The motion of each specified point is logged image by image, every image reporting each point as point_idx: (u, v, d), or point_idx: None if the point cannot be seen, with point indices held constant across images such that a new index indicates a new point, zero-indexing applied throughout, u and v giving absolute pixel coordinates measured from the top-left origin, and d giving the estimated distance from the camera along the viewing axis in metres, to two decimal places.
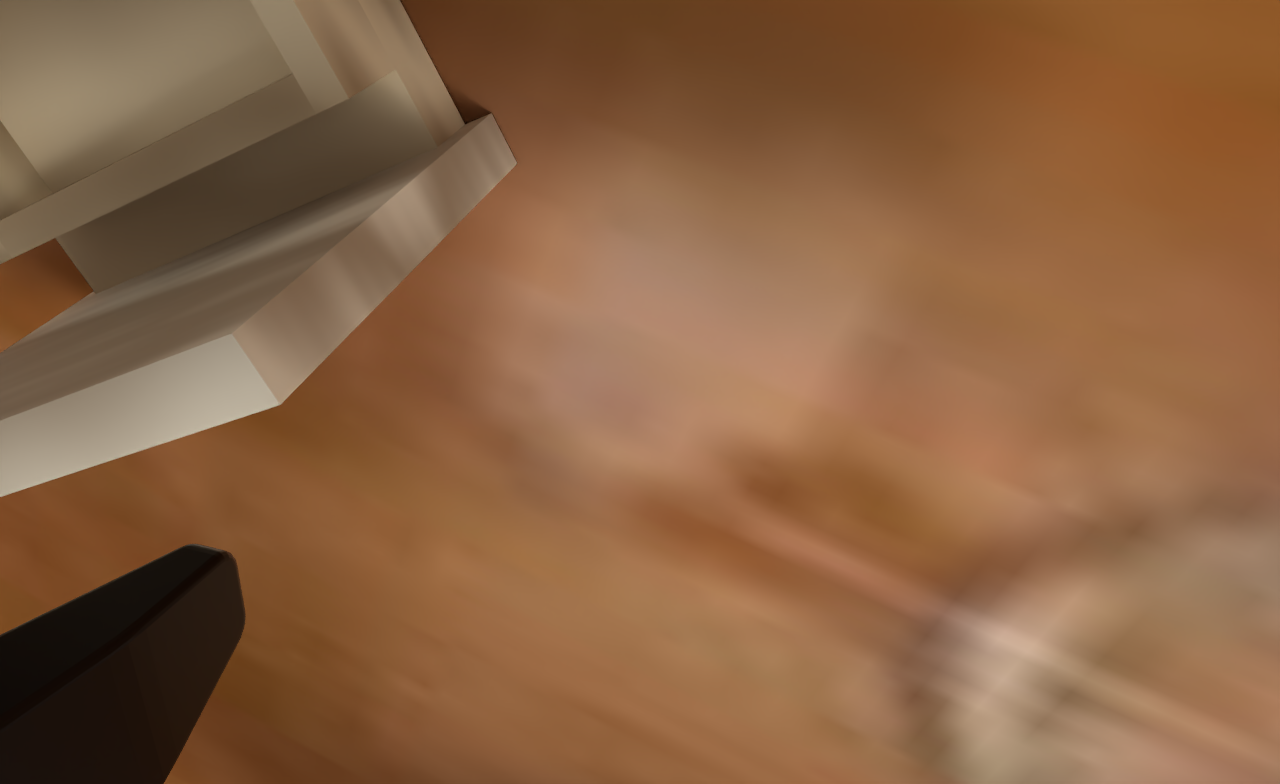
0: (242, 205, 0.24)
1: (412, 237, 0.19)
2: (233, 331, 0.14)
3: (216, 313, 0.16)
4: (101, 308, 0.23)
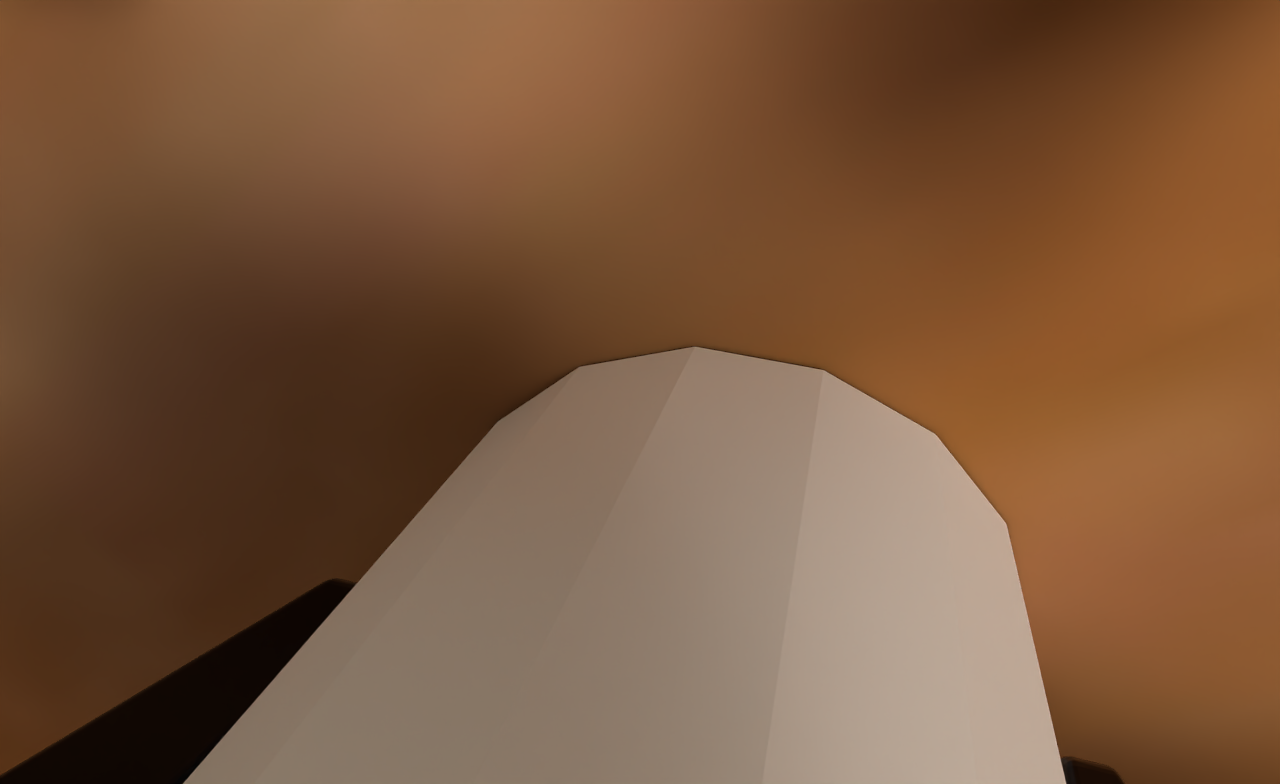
0: None
1: None
2: None
3: None
4: None
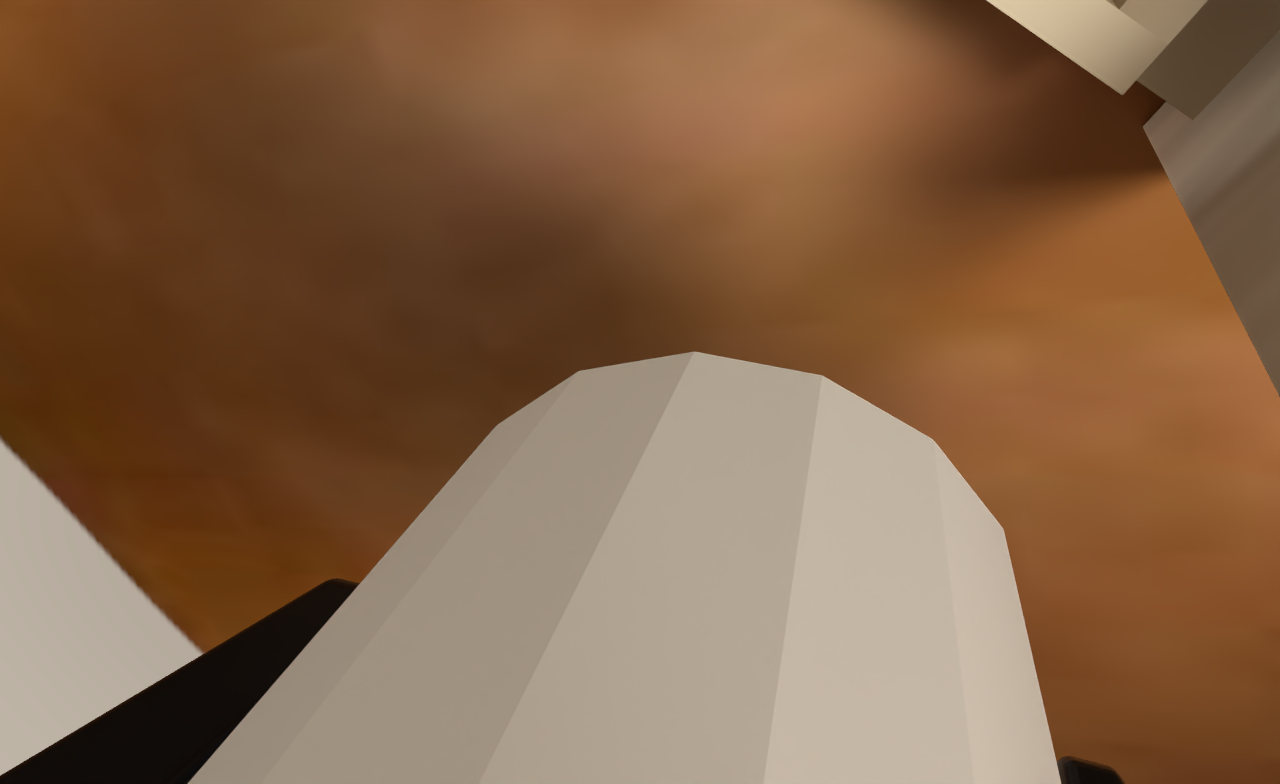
0: None
1: None
2: None
3: None
4: None
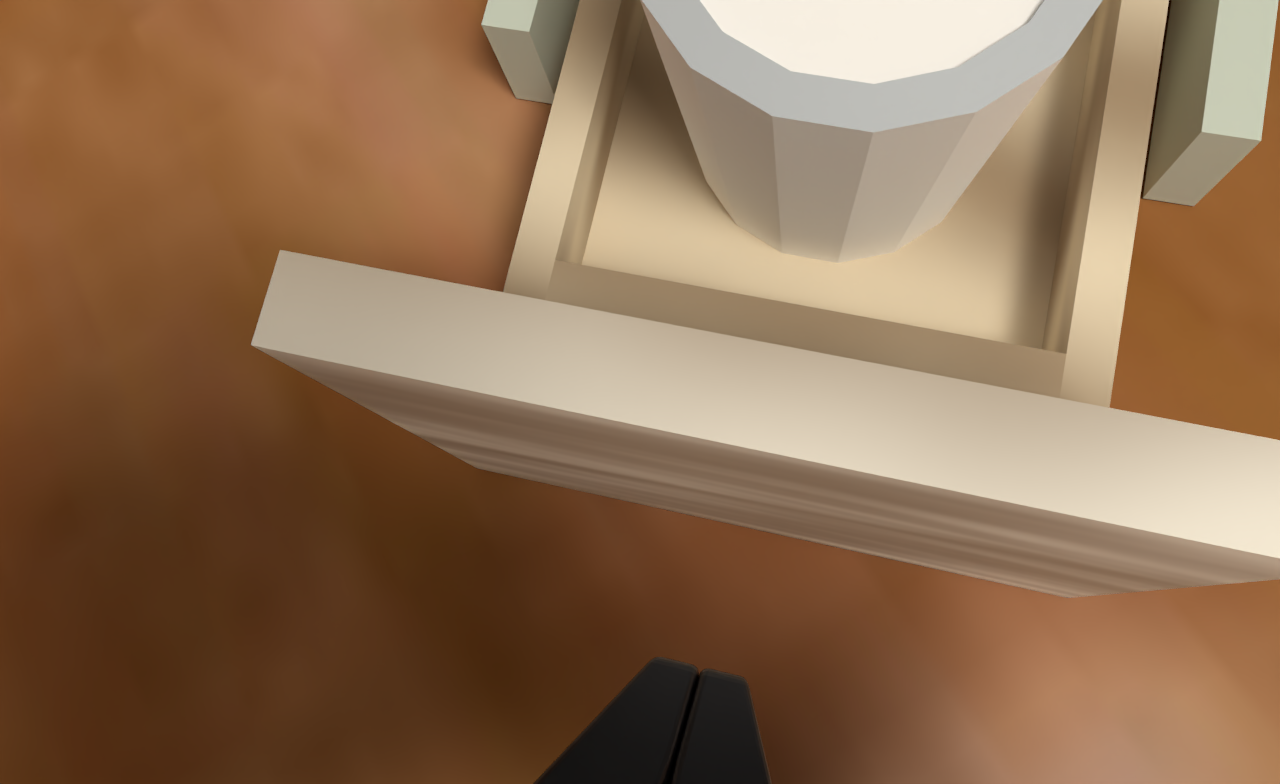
0: None
1: None
2: None
3: None
4: None
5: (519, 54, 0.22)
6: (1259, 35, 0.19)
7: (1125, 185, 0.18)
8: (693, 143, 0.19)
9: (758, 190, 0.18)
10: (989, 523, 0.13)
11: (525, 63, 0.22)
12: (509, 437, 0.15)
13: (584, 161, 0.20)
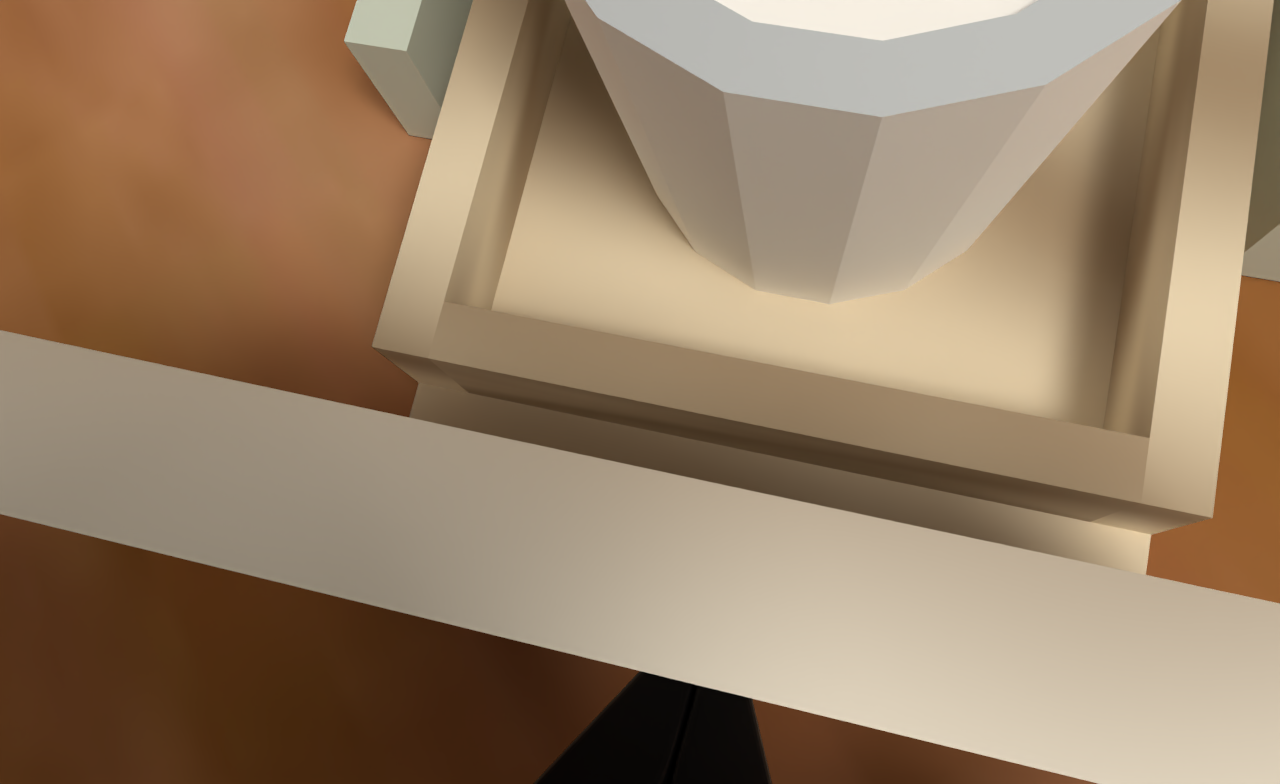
0: None
1: None
2: None
3: None
4: None
5: (400, 80, 0.16)
6: None
7: (1226, 202, 0.13)
8: (633, 144, 0.14)
9: (717, 207, 0.13)
10: None
11: (410, 91, 0.17)
12: None
13: (489, 168, 0.15)
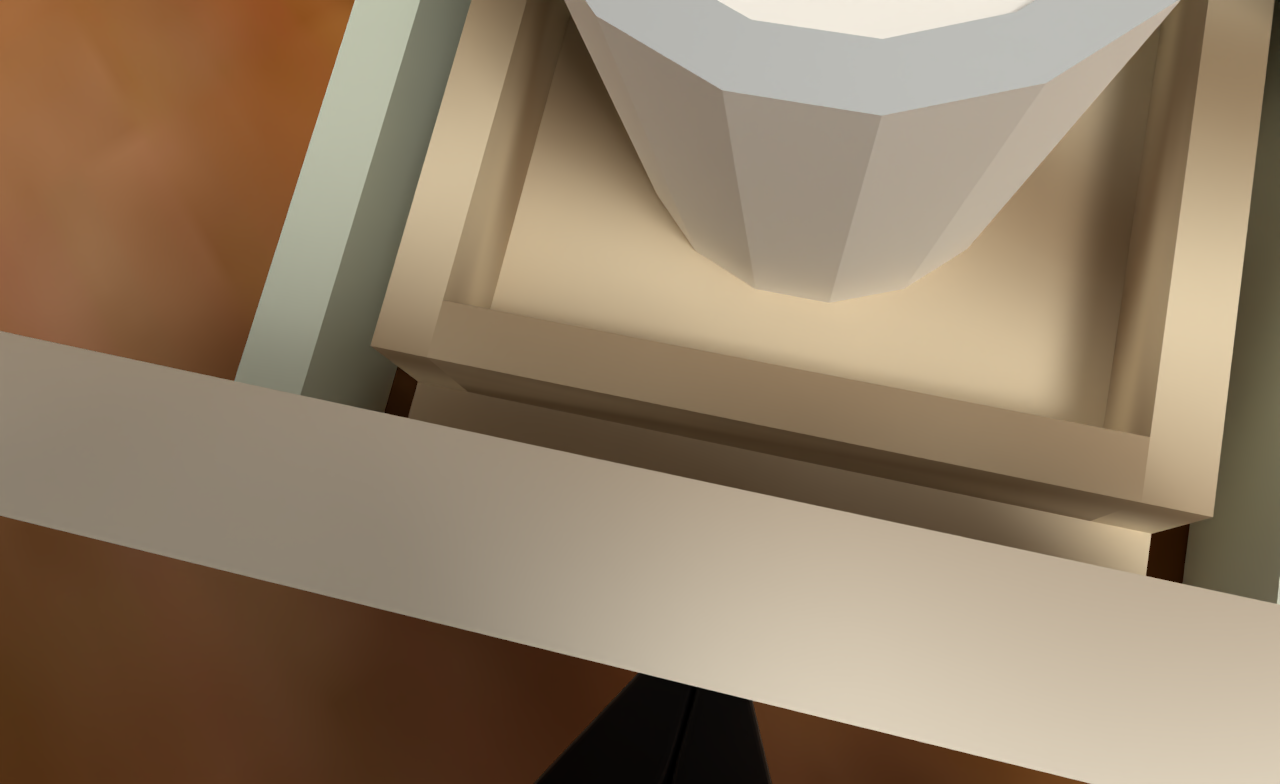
0: None
1: None
2: None
3: None
4: None
5: None
6: None
7: (1227, 200, 0.13)
8: (632, 142, 0.14)
9: (716, 206, 0.13)
10: None
11: None
12: None
13: (488, 166, 0.15)
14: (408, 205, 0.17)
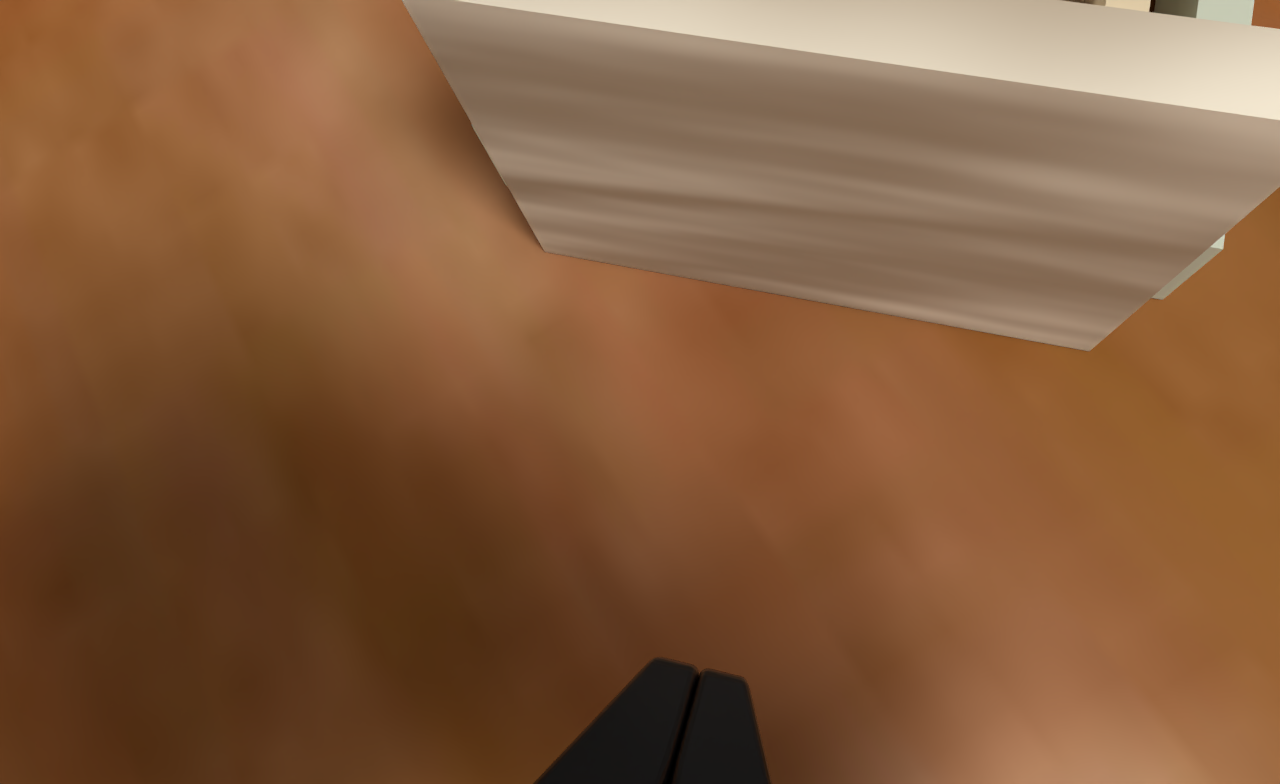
0: None
1: None
2: None
3: None
4: None
5: None
6: None
7: None
8: None
9: None
10: (1033, 159, 0.15)
11: None
12: (600, 138, 0.17)
13: None
14: None
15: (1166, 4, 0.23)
